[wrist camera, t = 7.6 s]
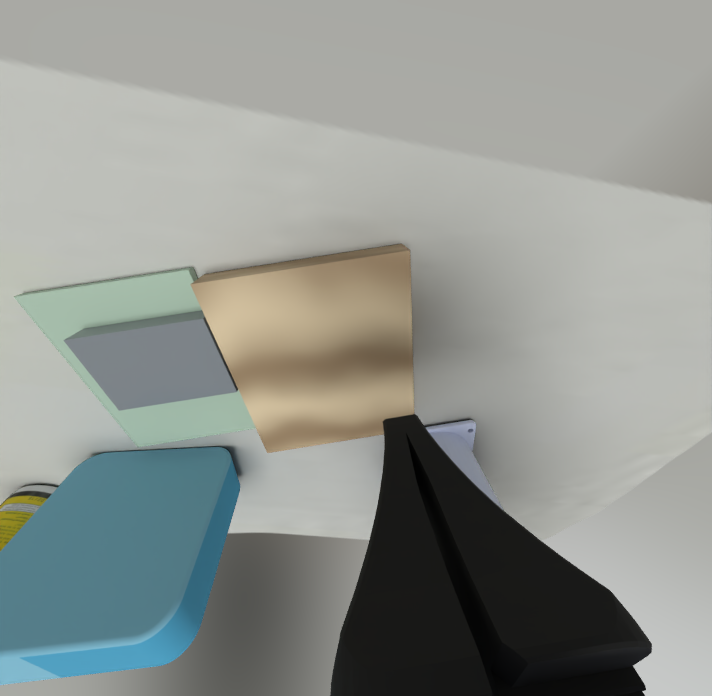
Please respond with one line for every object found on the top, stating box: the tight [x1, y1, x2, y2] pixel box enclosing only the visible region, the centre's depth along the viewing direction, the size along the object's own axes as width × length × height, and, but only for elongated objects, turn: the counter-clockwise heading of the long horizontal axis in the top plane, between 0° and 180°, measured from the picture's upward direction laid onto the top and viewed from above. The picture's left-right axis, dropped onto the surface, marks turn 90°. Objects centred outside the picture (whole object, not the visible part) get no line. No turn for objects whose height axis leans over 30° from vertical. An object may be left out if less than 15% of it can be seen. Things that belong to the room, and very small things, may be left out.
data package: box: [0, 447, 240, 685], centre depth 19 cm, size 12×4×12 cm, turn 88°
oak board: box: [190, 244, 414, 453], centre depth 19 cm, size 14×12×2 cm
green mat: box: [14, 267, 256, 447], centre depth 19 cm, size 13×10×1 cm
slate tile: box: [63, 310, 238, 411], centre depth 18 cm, size 6×8×2 cm
